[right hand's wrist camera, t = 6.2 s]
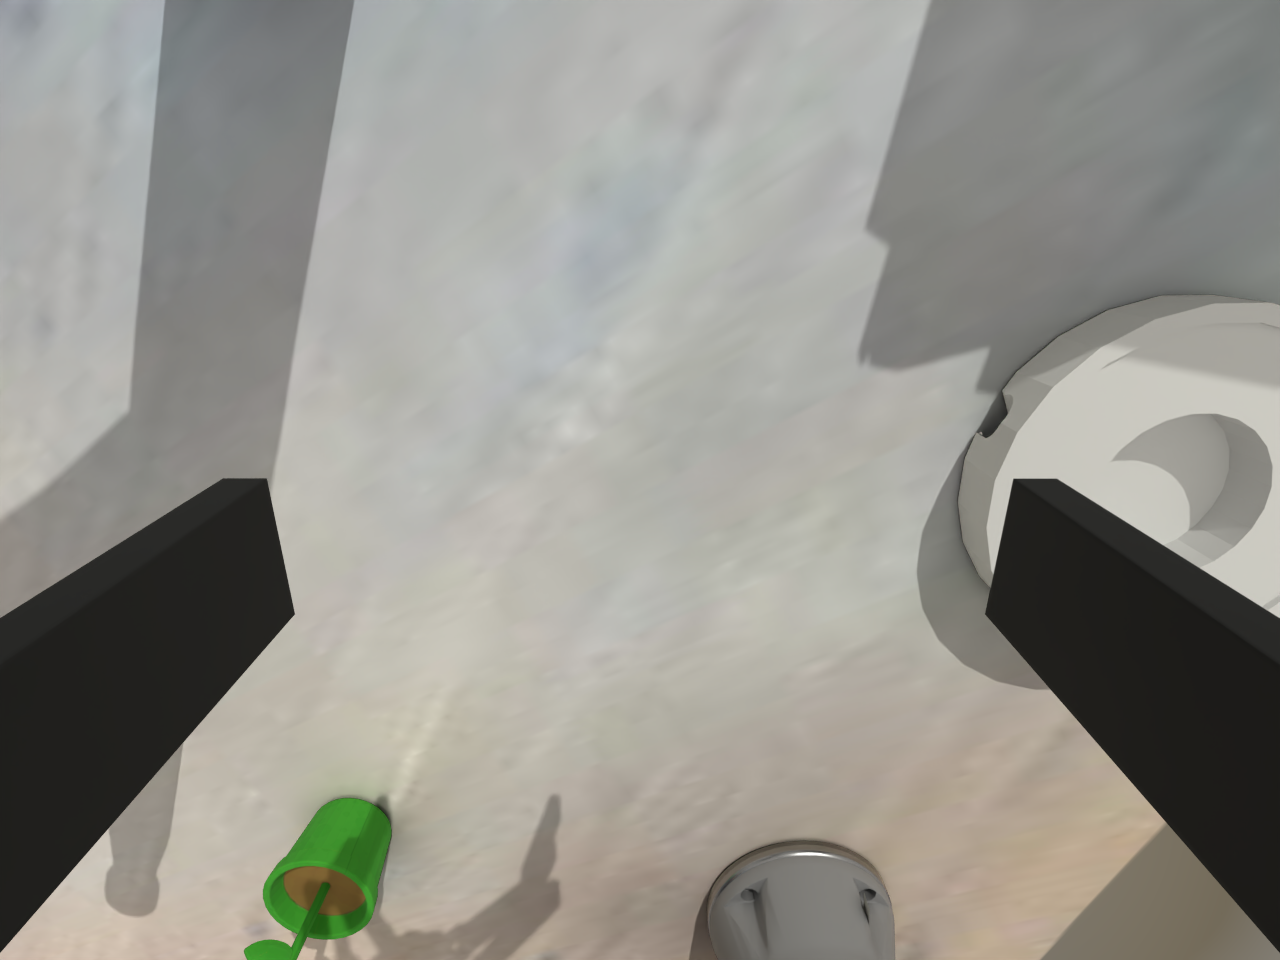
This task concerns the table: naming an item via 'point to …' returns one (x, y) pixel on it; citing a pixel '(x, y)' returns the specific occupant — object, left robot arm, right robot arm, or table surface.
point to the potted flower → (327, 877)
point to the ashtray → (1150, 434)
